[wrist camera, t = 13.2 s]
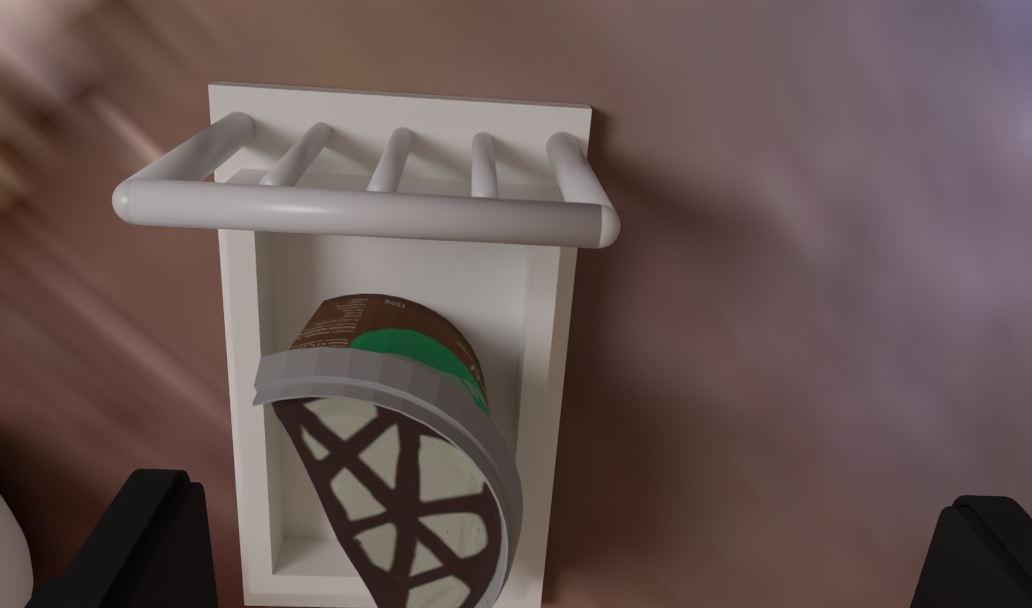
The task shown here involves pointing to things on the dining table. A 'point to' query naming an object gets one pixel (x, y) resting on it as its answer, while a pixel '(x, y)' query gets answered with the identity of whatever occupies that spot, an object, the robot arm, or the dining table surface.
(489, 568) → the food container
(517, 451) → the white dish rack
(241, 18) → the dining table surface
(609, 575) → the dining table surface
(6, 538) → the milk container
